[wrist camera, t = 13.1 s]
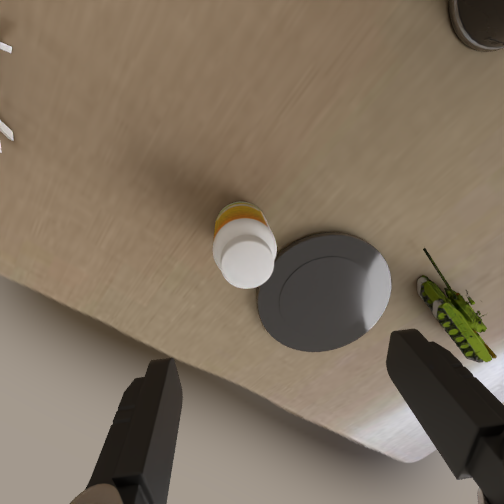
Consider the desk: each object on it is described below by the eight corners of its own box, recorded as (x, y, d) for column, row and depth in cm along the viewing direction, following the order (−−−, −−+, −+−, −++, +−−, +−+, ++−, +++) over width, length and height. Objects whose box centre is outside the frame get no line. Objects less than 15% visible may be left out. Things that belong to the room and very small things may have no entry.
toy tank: (463, 382, 34) (559, 349, 30) (387, 288, 27) (495, 230, 23) (434, 337, 40) (511, 305, 36) (366, 252, 33) (450, 201, 30)
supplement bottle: (204, 218, 28) (195, 257, 19) (248, 190, 28) (259, 216, 19) (233, 258, 30) (236, 309, 21) (275, 232, 30) (296, 274, 21)
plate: (230, 309, 33) (230, 315, 32) (318, 202, 29) (322, 205, 28) (325, 362, 38) (328, 370, 37) (412, 278, 34) (419, 283, 32)
